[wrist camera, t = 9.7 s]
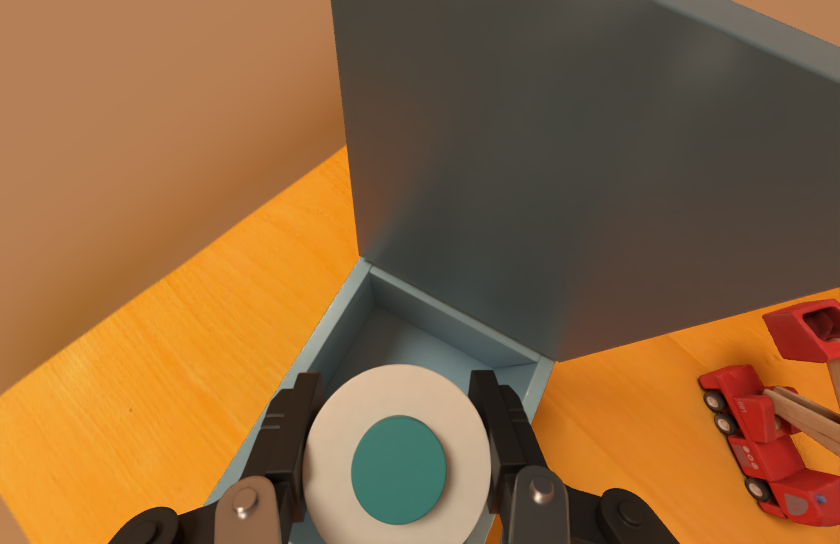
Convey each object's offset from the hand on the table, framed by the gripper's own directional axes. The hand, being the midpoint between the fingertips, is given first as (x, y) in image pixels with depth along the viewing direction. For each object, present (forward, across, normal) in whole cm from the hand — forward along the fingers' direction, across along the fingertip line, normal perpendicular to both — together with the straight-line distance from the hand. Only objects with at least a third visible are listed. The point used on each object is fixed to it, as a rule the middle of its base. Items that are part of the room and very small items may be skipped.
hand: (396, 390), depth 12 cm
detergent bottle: (+2, 0, +4) cm, 5 cm away
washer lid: (+1, -3, -5) cm, 6 cm away
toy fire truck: (+9, -26, +12) cm, 30 cm away
